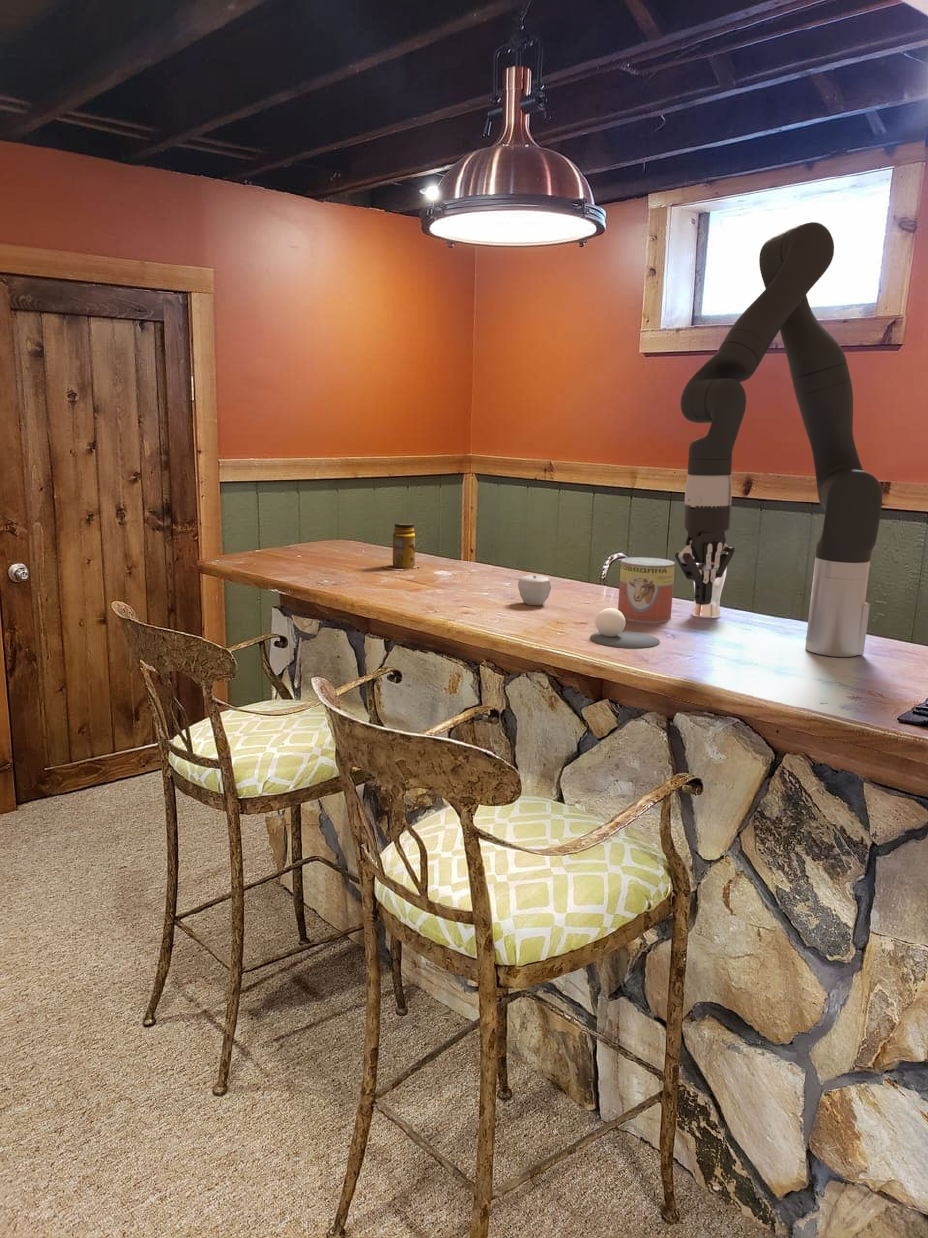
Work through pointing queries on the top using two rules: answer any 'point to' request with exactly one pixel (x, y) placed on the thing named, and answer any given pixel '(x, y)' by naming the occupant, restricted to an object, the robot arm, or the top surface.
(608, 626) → the ball
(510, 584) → the top surface
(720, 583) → the beer glass
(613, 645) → the disc
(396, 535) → the condiment
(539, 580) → the apple
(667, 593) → the canned food
